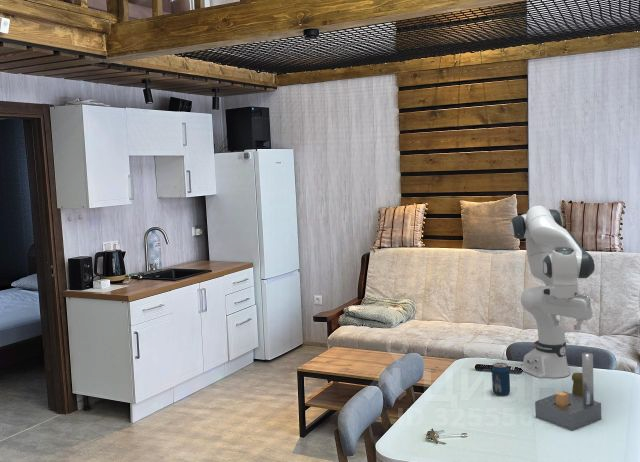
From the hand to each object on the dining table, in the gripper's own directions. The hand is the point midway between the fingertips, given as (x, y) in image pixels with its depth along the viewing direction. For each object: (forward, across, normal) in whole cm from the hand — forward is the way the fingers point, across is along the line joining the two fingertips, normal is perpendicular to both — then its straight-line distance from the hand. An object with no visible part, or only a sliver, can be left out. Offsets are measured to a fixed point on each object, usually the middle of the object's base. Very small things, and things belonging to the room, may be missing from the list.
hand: (566, 327), depth 243 cm
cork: (+31, +2, -9) cm, 33 cm away
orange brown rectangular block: (+31, -6, +11) cm, 34 cm away
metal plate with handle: (+31, -6, +8) cm, 33 cm away
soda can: (+31, +27, +7) cm, 42 cm away
